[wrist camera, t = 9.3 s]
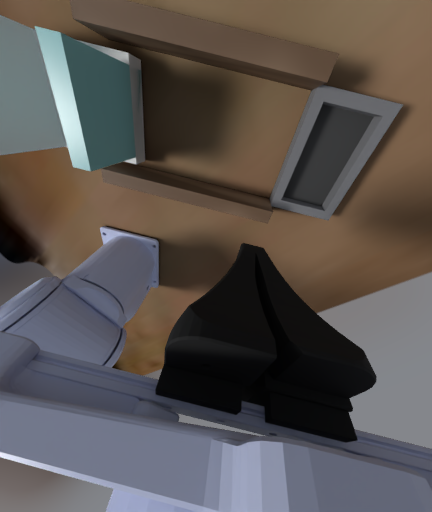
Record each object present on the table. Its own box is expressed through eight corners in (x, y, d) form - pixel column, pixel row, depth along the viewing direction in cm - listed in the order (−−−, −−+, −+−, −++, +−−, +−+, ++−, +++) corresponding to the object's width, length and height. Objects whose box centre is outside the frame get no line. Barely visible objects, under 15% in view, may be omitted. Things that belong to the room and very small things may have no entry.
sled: (145, 161, 18) (92, 180, 12) (68, 141, 18) (-23, 151, 12) (140, 59, 14) (55, 11, 8) (39, 34, 14) (-125, -34, 8)
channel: (265, 209, 20) (267, 223, 17) (124, 173, 20) (103, 182, 17) (320, 68, 13) (339, 53, 10) (106, 14, 13) (66, -15, 10)
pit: (323, 214, 19) (328, 220, 18) (268, 200, 19) (269, 205, 18) (389, 106, 14) (403, 104, 12) (312, 86, 14) (319, 83, 12)
